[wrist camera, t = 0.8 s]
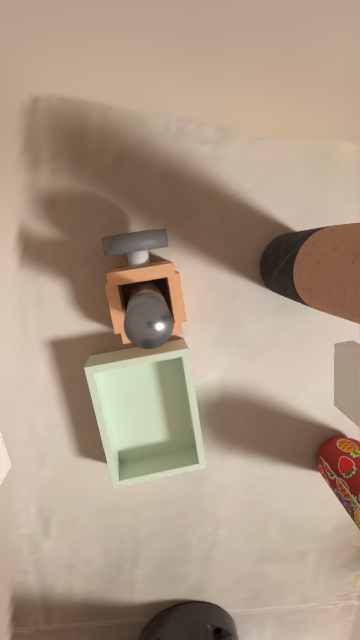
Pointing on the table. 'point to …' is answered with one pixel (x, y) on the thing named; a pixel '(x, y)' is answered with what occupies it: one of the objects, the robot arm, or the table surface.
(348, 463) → the smoothie
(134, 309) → the pin
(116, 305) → the block
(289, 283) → the travel mug
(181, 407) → the tray
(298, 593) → the table surface
